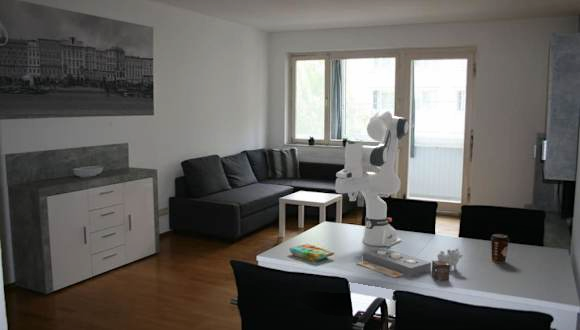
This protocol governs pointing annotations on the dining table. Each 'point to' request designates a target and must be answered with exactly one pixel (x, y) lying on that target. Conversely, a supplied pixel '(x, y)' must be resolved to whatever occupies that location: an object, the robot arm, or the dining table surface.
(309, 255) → the puzzle game
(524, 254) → the dining table surface
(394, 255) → the button
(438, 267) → the box
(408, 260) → the button
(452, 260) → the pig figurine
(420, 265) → the console
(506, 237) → the coffee cup
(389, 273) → the pattern card
